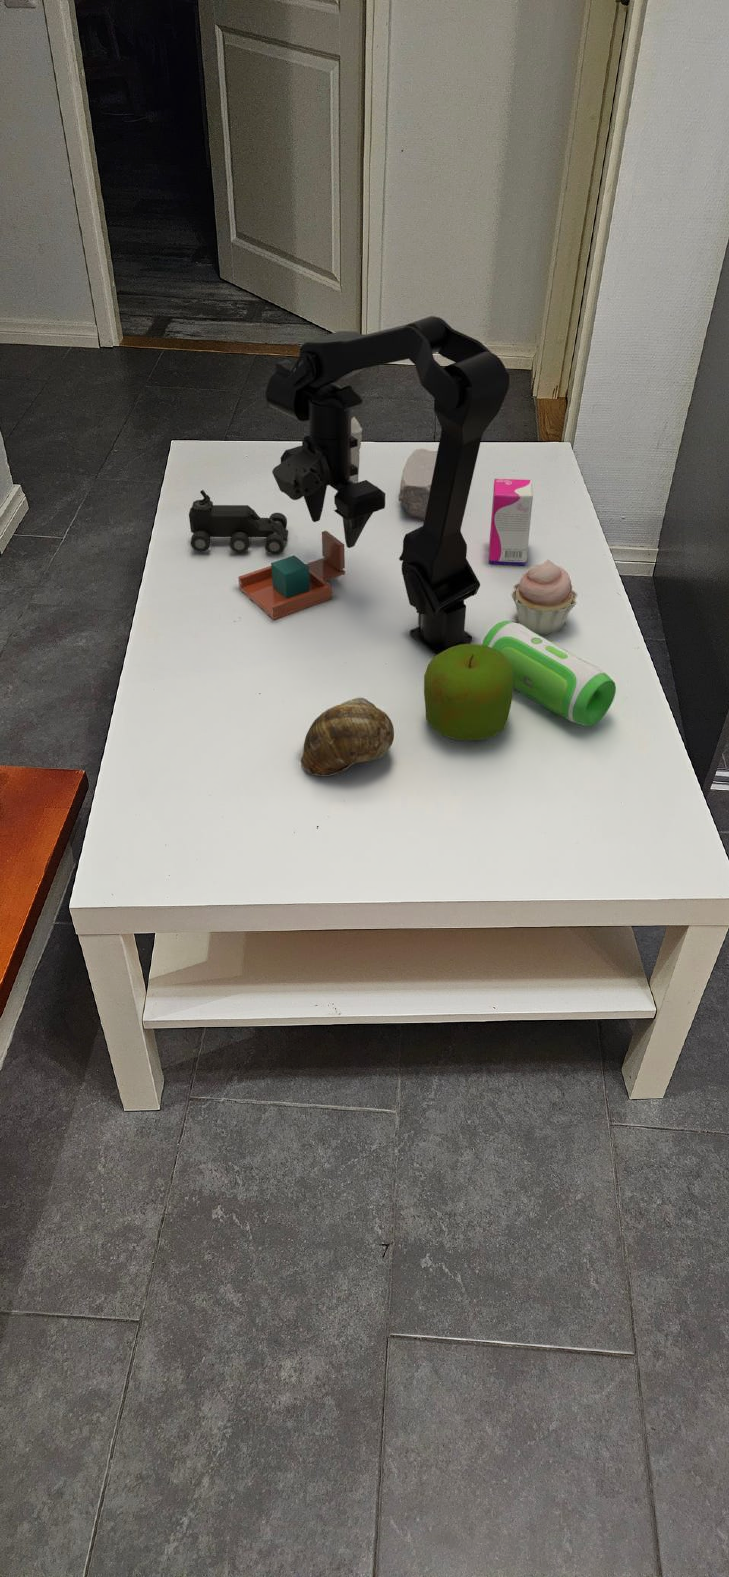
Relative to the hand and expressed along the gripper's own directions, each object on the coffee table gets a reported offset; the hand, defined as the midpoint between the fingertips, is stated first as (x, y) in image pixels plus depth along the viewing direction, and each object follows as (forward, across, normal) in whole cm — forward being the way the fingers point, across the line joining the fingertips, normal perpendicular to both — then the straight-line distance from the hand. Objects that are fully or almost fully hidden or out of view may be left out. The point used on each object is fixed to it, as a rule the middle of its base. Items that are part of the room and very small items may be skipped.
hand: (332, 533), depth 157 cm
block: (+7, 0, -8) cm, 10 cm away
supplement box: (+7, +10, +26) cm, 28 cm away
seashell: (+8, +36, -22) cm, 43 cm away
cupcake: (+8, +27, +18) cm, 33 cm away
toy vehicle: (+7, -17, -6) cm, 20 cm away
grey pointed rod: (+7, -19, +16) cm, 26 cm away
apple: (+8, +39, -6) cm, 40 cm away
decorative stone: (+7, -11, +26) cm, 29 cm away
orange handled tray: (+7, 0, -7) cm, 10 cm away
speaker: (+8, +40, +6) cm, 41 cm away
